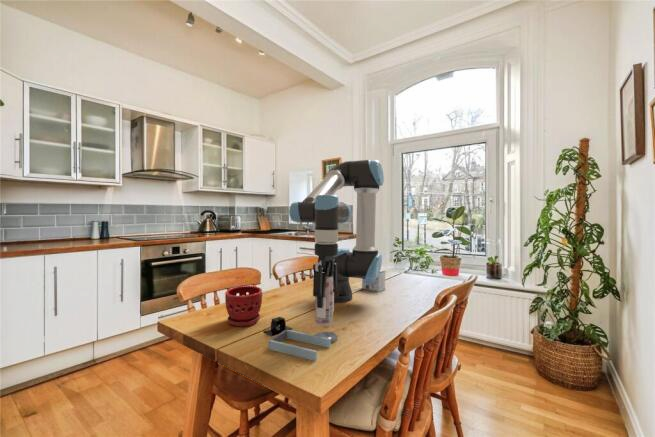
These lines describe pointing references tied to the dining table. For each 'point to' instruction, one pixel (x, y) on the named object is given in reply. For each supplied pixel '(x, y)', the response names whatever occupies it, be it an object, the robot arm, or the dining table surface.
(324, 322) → the beverage can
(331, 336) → the grey round disc
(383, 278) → the light bulb box
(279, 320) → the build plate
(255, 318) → the plant pot
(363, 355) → the dining table surface
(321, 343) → the channel
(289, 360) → the dining table surface
